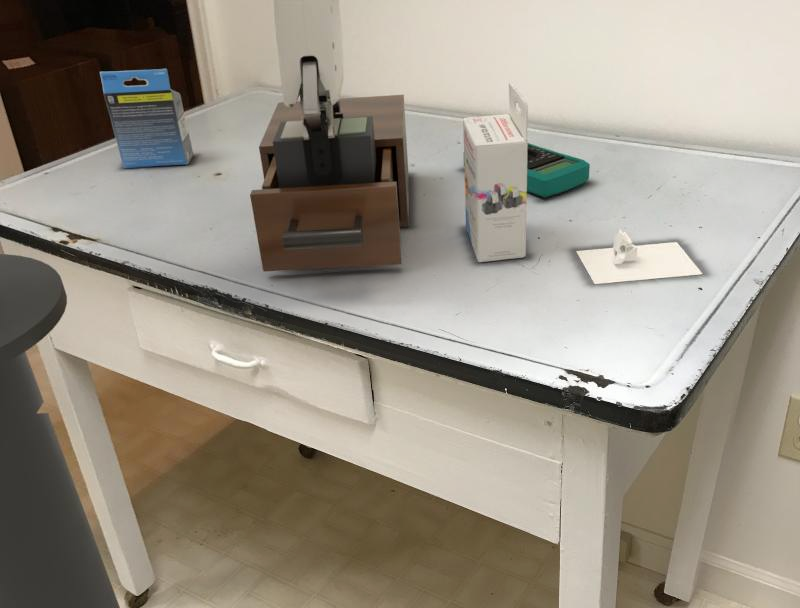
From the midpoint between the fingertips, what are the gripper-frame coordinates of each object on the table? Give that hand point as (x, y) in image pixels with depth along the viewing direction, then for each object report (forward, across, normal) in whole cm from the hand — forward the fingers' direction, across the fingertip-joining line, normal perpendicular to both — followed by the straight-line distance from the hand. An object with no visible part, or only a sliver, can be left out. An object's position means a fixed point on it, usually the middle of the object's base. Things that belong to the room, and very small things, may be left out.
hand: (328, 165), depth 82 cm
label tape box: (+9, -31, -26) cm, 41 cm away
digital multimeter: (+9, -18, +21) cm, 29 cm away
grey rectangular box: (+1, 0, 0) cm, 1 cm away
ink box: (+9, 0, +16) cm, 18 cm away
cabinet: (+9, -13, 0) cm, 16 cm away
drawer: (+8, +1, 0) cm, 8 cm away
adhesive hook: (+9, +6, +29) cm, 31 cm away
